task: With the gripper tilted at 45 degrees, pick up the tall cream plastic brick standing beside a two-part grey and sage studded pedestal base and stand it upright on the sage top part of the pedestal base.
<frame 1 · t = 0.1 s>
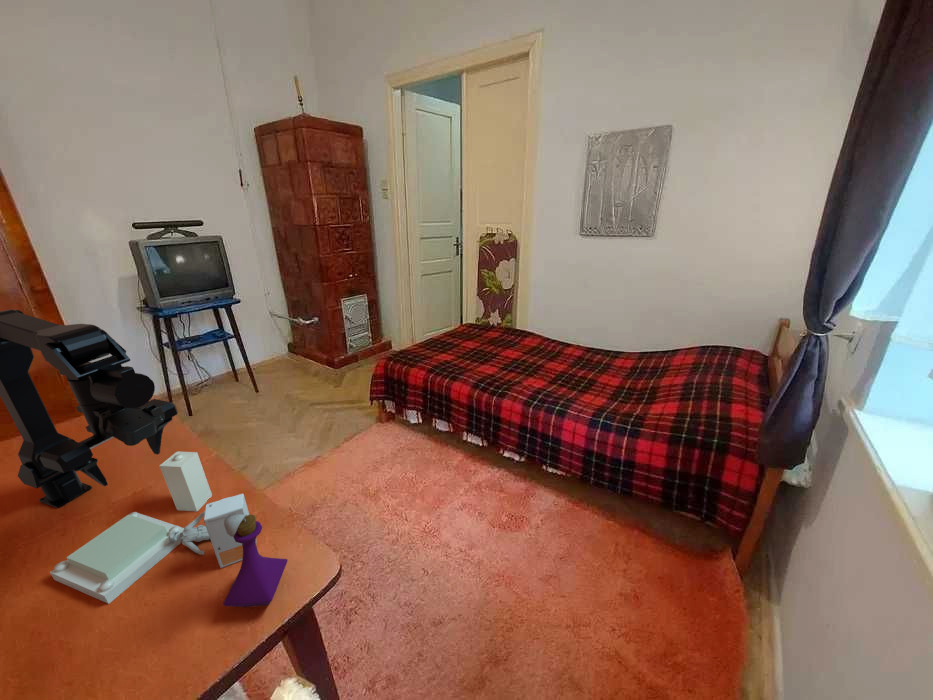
hand: (132, 468, 72), 15 cm above the table, tool pointing down, fingers open, 9 cm apart
perfume bottle: (261, 594, 64), on the table
studded pedestal base: (125, 556, 71), on the table
soldier figure: (212, 539, 74), on the table, touching studded pedestal base
skincare box: (240, 554, 71), on the table
tall brick: (195, 502, 83), on the table
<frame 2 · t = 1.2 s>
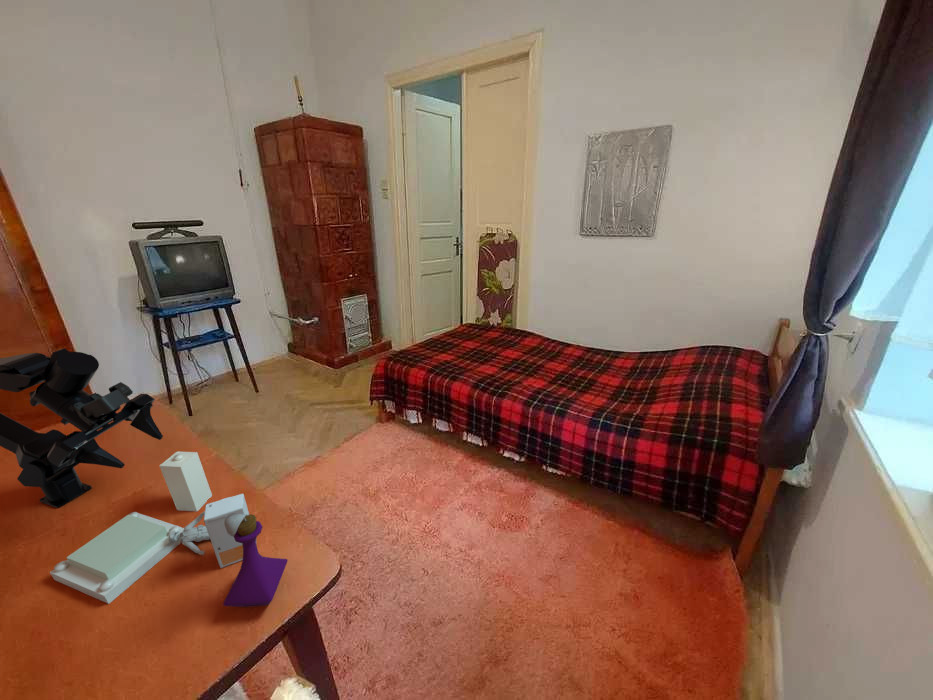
hand: (143, 451, 78), 13 cm above the table, tool tilted 45°, fingers open, 9 cm apart
nothing on the table moved.
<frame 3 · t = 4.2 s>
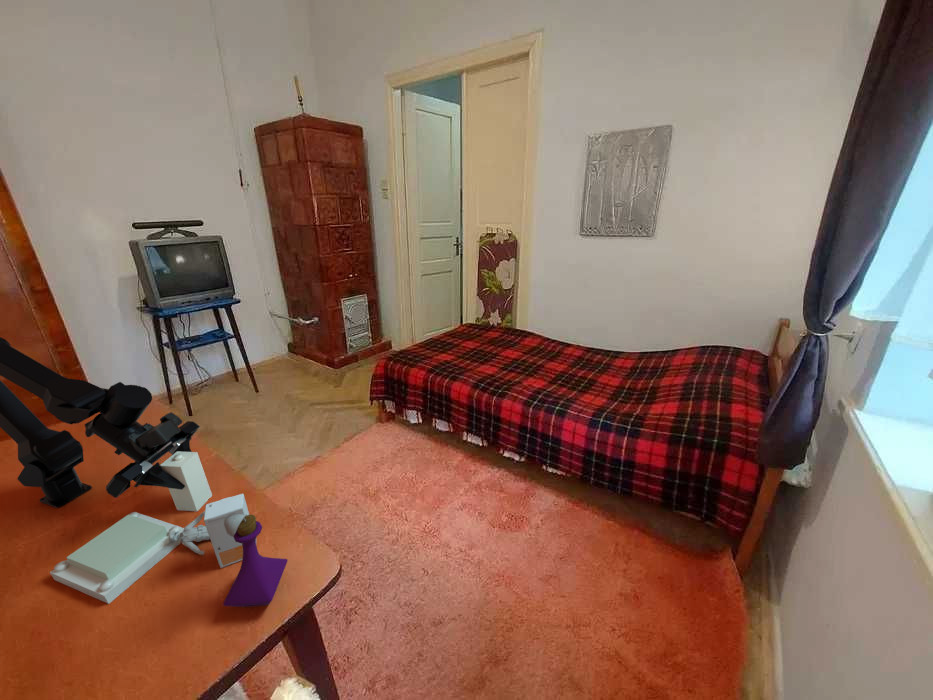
hand: (192, 479, 80), 7 cm above the table, tool tilted 45°, fingers closed on tall brick, 5 cm apart
tall brick: (195, 502, 83), on the table, touching gripper
everything else where it was.
when the fingers open (12 cm above the table, at t = 8.8 s): tall brick drops 1 cm, resting on studded pedestal base.
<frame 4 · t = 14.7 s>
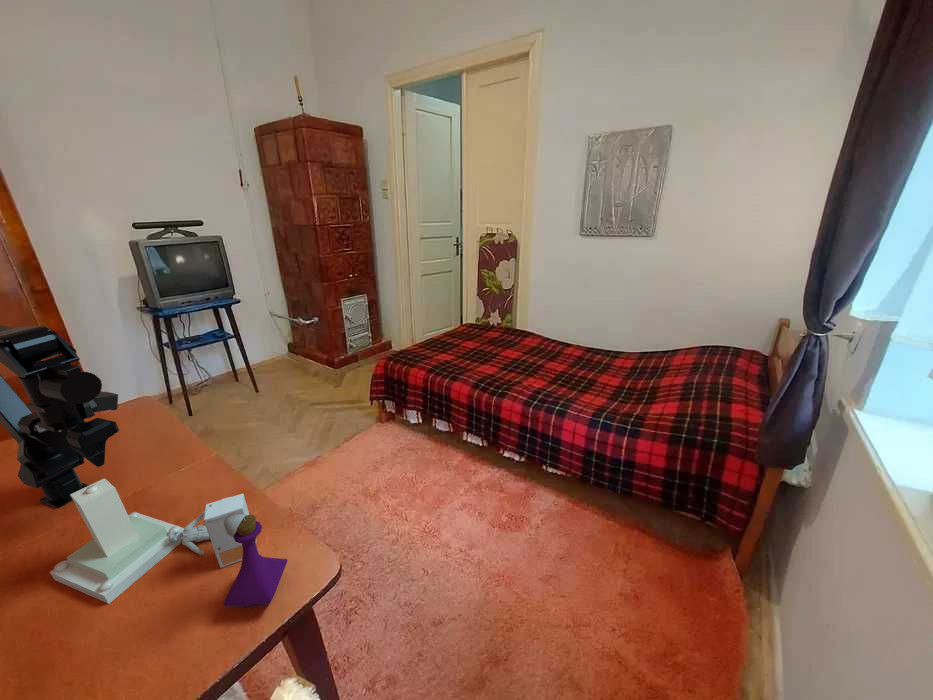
hand: (85, 461, 76), 13 cm above the table, tool pointing down, fingers open, 9 cm apart
tall brick: (118, 541, 69), point 4 cm above the table, touching studded pedestal base
everything else where it was.
at the end: tall brick inside the target area on the studded pedestal base (0.1 cm from its centre), point 4.0 cm above the studded pedestal base's base; tall brick tilted 0°; the gripper is holding nothing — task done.
